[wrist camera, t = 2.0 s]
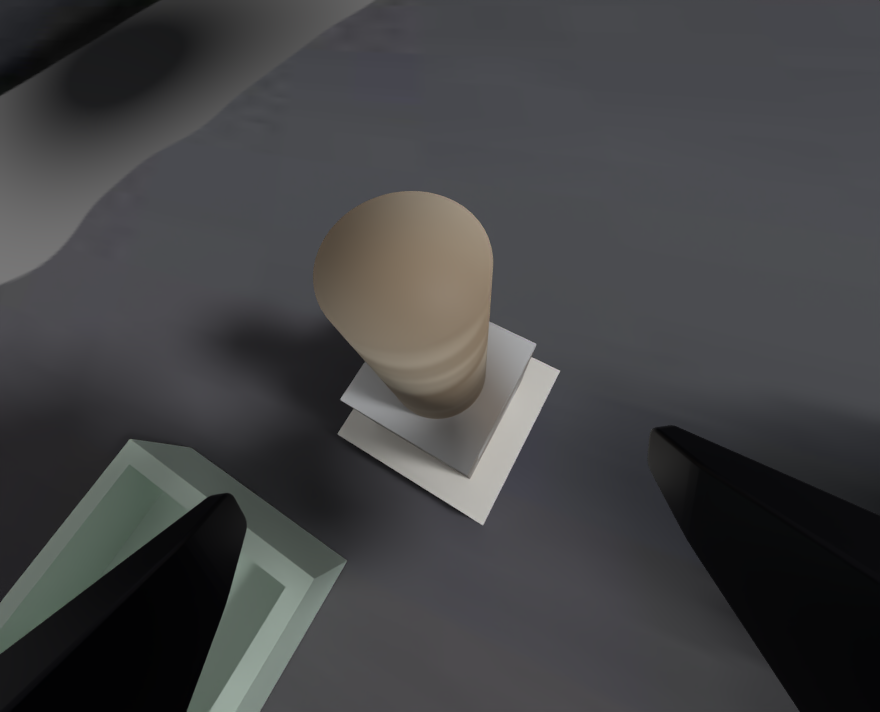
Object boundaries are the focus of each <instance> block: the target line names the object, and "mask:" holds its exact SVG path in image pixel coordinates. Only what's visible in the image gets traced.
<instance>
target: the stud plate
mask: <svg viewBox="0 0 880 712" xmlns="http://www.w3.org/2000/svg"><path fill="white" fill-rule="evenodd" d="M559 372H560V371H559V370H557V369H555V368H553V367H551V366H549V365H547V364H545V363H543V362H541V361H539V360H536V359H534V358H532V357H531V359H530V361H529V364H528V366H527V369H526V371H525V374H524V376H523V379H522V381H521V383H520V385H519V387H518V389H517V391H516V393H515V395H514V396H513V398H512V400H511V402H510V404H509V406H508V408H507V410H506V412H505V414H504V415H503V417H502V419H501V421H500V423H499V425H498V427H497V429H496V431H495V433H494V434H493V436H492V438H491V440H490V442H489V444H488V446H487V448H486V450H485V452H484V453H483V455H482V457H481V459H480V461H479V463H478V465H477V467H476V469H475V471H474V472H473V474H472V476H471V478H470V479H469V478H467V477H466V476H464V475H462V474H461V473H459V472H457V471H455V470H454V469H452V468H450V467H449V466H447V465H445V464H444V463H442V462H440V461H439V460H437V459H435V458H434V457H432V456H430V455H429V454H427V453H425V452H424V451H422V450H420V449H419V448H417V447H415V446H414V445H412V444H410V443H409V442H407V441H405V440H404V439H402V438H400V437H399V436H397V435H395V434H394V433H392V432H390V431H389V430H387V429H385V428H384V427H382V426H380V425H378V424H377V423H375V422H374V421H372V420H371V419H369V418H367V417H366V416H364V415H363V414H361V413H360V412H358V411H357V410H355V409H353V410H352V412H351V413H350V415H349V416H348V418H347V420H346V421H345V423H344V424H343V426H342V427H341V429H340V430H339V432H338V435H339V436H341V437H342V438H344V439H346V440H347V441H349V442H350V443H352V444H354V445H355V446H357V447H358V448H360V449H362V450H363V451H365V452H366V453H368V454H370V455H371V456H373V457H374V458H376V459H378V460H379V461H381V462H382V463H384V464H386V465H387V466H389V467H390V468H392V469H394V470H395V471H397V472H398V473H400V474H402V475H403V476H405V477H406V478H408V479H410V480H411V481H413V482H414V483H416V484H418V485H419V486H421V487H422V488H424V489H426V490H427V491H429V492H430V493H432V494H434V495H435V496H437V497H438V498H440V499H442V500H443V501H445V502H446V503H448V504H450V505H451V506H453V507H454V508H456V509H458V510H459V511H461V512H462V513H464V514H466V515H467V516H469V517H470V518H472V519H474V520H475V521H477V522H478V523H480V524H481V525H483V524H484V522H485V520H486V518H487V516H488V514H489V512H490V510H491V508H492V506H493V504H494V502H495V500H496V498H497V496H498V494H499V492H500V490H501V488H502V486H503V484H504V482H505V480H506V478H507V476H508V474H509V472H510V470H511V468H512V466H513V464H514V462H515V460H516V458H517V456H518V454H519V452H520V450H521V448H522V446H523V444H524V442H525V440H526V438H527V436H528V434H529V432H530V430H531V428H532V426H533V424H534V422H535V420H536V418H537V416H538V414H539V412H540V410H541V408H542V406H543V404H544V402H545V400H546V398H547V396H548V394H549V392H550V390H551V388H552V386H553V384H554V382H555V380H556V378H557V376H558V374H559Z"/></svg>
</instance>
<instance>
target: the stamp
mask: <svg viewBox="0 0 880 712" xmlns="http://www.w3.org/2000/svg"><path fill="white" fill-rule="evenodd" d="M492 271H493V256H492V248H491V245H490V241H489V238H488V236H487V234H486V232H485V230H484V228H483V227H482V225H481V224H480V222H479V221H478V220H477V219H476V218H475V216H474V215H473V214H472V213H471V212H469V211H468V210H467V209H466V208H465V207H463V206H461V205H460V204H458V203H457V202H455V201H453V200H451V199H449V198H446V197H443V196H440V195H437V194H433V193H428V192H419V191H403V192H395V193H390V194H386V195H382V196H379V197H376V198H373V199H371V200H369V201H366V202H364V203H362V204H360V205H359V206H357V207H355V208H354V209H352V210H351V211H350V212H348V213H347V214H345V215H344V216H343V217H342V218H341V219H340V220H339V221H338V222H337V223H336V224H335V225H334V226H333V227H332V229H331V230H330V231H329V232H328V234H327V235H326V237H325V238H324V240H323V242H322V244H321V246H320V248H319V250H318V253H317V256H316V260H315V264H314V272H313V283H314V290H315V294H316V298H317V301H318V303H319V306H320V308H321V309H322V311H323V313H324V314H325V316H326V317H327V318H328V320H329V321H330V322H331V323H332V324H333V325H334V327H335V328H336V329H337V330H338V331H339V332H340V333H341V334H342V336H343V337H344V338H345V339H346V340H347V341H348V342H349V344H350V345H351V346H352V347H353V348H354V349H355V350H356V351H357V353H358V354H359V355H360V356H361V357H362V358H363V359H364V361H365V362H364V364H363V365H362V367H361V368H360V370H359V372H358V373H357V375H356V376H355V378H354V379H353V381H352V382H351V384H350V385H349V387H348V388H347V390H346V391H345V393H344V394H343V396H342V397H341V399H340V400H341V401H343V402H344V403H346V404H347V405H349V406H351V407H352V408H354V409H355V410H357V411H358V412H360V413H361V414H363V415H364V416H366V417H367V418H369V419H371V420H372V421H374V422H375V423H377V424H378V425H380V426H382V427H384V428H385V429H387V430H389V431H390V432H392V433H394V434H395V435H397V436H399V437H400V438H402V439H404V440H405V441H407V442H409V443H410V444H412V445H414V446H415V447H417V448H419V449H420V450H422V451H424V452H425V453H427V454H429V455H430V456H432V457H434V458H435V459H437V460H439V461H440V462H442V463H444V464H445V465H447V466H449V467H450V468H452V469H454V470H455V471H457V472H459V473H461V474H462V475H464V476H466V477H467V478H469V479H470V478H471V476H472V474H473V472H474V471H475V469H476V467H477V465H478V463H479V461H480V459H481V457H482V455H483V453H484V452H485V450H486V448H487V446H488V444H489V442H490V440H491V438H492V436H493V434H494V433H495V431H496V429H497V427H498V425H499V423H500V421H501V419H502V417H503V415H504V414H505V412H506V410H507V408H508V406H509V404H510V402H511V400H512V398H513V396H514V395H515V393H516V391H517V389H518V387H519V385H520V383H521V381H522V379H523V376H524V374H525V371H526V369H527V366H528V364H529V361H530V359H531V356H532V354H533V351H534V349H535V346H536V344H535V343H533V342H531V341H529V340H527V339H525V338H523V337H521V336H518V335H516V334H514V333H512V332H510V331H508V330H506V329H504V328H502V327H499V326H497V325H495V324H493V323H491V322H489V317H490V302H491V286H492Z"/></svg>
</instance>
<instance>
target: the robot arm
mask: <svg viewBox="0 0 880 712" xmlns="http://www.w3.org/2000/svg"><path fill="white" fill-rule="evenodd" d="M648 465H649V468H650V471H651V473H652V474H653V476H654V478H655V480H656V482H657V484H658V486H659V488H660V490H661V492H662V494H663V496H664V497H665V499H666V501H667V503H668V505H669V507H670V509H671V511H672V513H673V515H674V517H675V518H676V520H677V522H678V524H679V526H680V528H681V530H682V532H683V533H684V535H685V537H686V539H687V541H688V542H689V544H690V545H691V547H692V548H693V550H694V552H695V553H696V555H697V556H698V558H699V559H700V561H701V562H702V564H703V565H704V567H705V568H706V570H707V571H708V573H709V574H710V576H711V578H712V579H713V581H714V582H715V584H716V585H717V587H718V588H719V590H720V591H721V593H722V594H723V596H724V597H725V599H726V600H727V602H728V603H729V605H730V606H731V608H732V609H733V611H734V612H735V614H736V616H737V617H738V619H739V620H740V622H741V623H742V625H743V626H744V628H745V629H746V631H747V632H748V634H749V635H750V637H751V638H752V640H753V641H754V643H755V644H756V646H757V647H758V649H759V650H760V652H761V654H762V655H763V657H764V658H765V660H766V661H767V663H768V664H769V666H770V667H771V669H772V670H773V672H774V673H775V675H776V676H777V678H778V679H779V681H780V682H781V684H782V685H783V687H784V688H785V690H786V692H787V693H788V695H789V696H790V698H791V699H792V701H793V702H794V704H795V705H796V707H797V708H798V710H799V711H800V712H880V515H878V514H876V513H873V512H871V511H869V510H867V509H864V508H862V507H860V506H857V505H855V504H853V503H850V502H848V501H846V500H844V499H841V498H839V497H837V496H834V495H832V494H830V493H828V492H825V491H823V490H821V489H818V488H816V487H814V486H812V485H809V484H807V483H805V482H802V481H800V480H798V479H796V478H793V477H791V476H789V475H786V474H784V473H782V472H779V471H777V470H775V469H773V468H770V467H768V466H766V465H763V464H761V463H759V462H757V461H754V460H752V459H750V458H747V457H745V456H743V455H741V454H738V453H736V452H734V451H731V450H729V449H727V448H725V447H722V446H720V445H718V444H715V443H713V442H711V441H708V440H706V439H704V438H702V437H699V436H697V435H695V434H692V433H690V432H688V431H686V430H683V429H681V428H679V427H676V426H673V425H669V426H662V427H656V428H653V429H652V430H651V432H650V437H649V448H648ZM246 530H247V521H246V518H245V516H244V514H243V512H242V510H241V508H240V506H239V505H238V503H237V501H236V499H235V497H234V496H233V495H232V494H230V493H222V494H215V495H211V496H209V497H207V498H206V499H204V500H203V501H202V502H200V503H199V504H198V505H196V506H195V507H194V508H193V509H191V510H190V511H189V512H187V513H186V514H185V515H183V516H182V517H181V518H179V519H178V520H177V521H175V522H174V523H173V524H171V525H170V526H169V527H167V528H166V529H165V530H163V531H162V532H161V533H159V534H158V535H157V536H156V537H154V538H153V539H152V540H150V541H149V542H148V543H146V544H145V545H144V546H142V547H141V548H140V549H138V550H137V551H136V552H134V553H133V554H132V555H130V556H129V557H128V558H126V559H125V560H124V561H122V562H121V563H120V564H119V565H117V566H116V567H115V568H113V569H112V570H111V571H109V572H108V573H107V574H105V575H104V576H103V577H101V578H100V579H99V580H97V581H96V582H95V583H93V584H92V585H91V586H89V587H88V588H87V589H86V590H84V591H83V592H82V593H80V594H79V595H78V596H76V597H75V598H74V599H72V600H71V601H70V602H68V603H67V604H66V605H64V606H63V607H62V608H60V609H59V610H58V611H56V612H55V613H54V614H52V615H51V616H50V617H49V618H47V619H46V620H45V621H43V622H42V623H41V624H39V625H38V626H37V627H35V628H34V629H33V630H31V631H30V632H29V633H27V634H26V635H25V636H23V637H22V638H21V639H19V640H18V641H17V642H15V643H14V644H13V645H12V646H10V647H9V648H8V649H6V650H5V651H4V652H2V653H1V654H0V712H187V710H188V707H189V704H190V702H191V699H192V696H193V693H194V691H195V688H196V685H197V683H198V680H199V677H200V675H201V672H202V669H203V666H204V664H205V661H206V658H207V656H208V653H209V650H210V648H211V645H212V642H213V639H214V637H215V634H216V631H217V629H218V626H219V623H220V620H221V618H222V615H223V612H224V609H225V606H226V603H227V600H228V596H229V593H230V590H231V586H232V582H233V579H234V575H235V571H236V568H237V564H238V560H239V556H240V553H241V549H242V545H243V542H244V538H245V534H246Z"/></svg>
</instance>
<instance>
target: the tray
mask: <svg viewBox="0 0 880 712" xmlns="http://www.w3.org/2000/svg"><path fill="white" fill-rule="evenodd" d="M222 493H230V494H232V495H233V496H234V497H235V499H236V501H237V503H238V505H239V506H240V508H241V510H242V512H243V514H244V516H245V518H246V521H247V530H246V534H245V538H244V542H243V545H242V549H241V553H240V556H239V560H238V564H237V568H236V571H235V575H234V579H233V582H232V586H231V590H230V593H229V596H228V600H227V603H226V606H225V609H224V612H223V615H222V618H221V620H220V623H219V626H218V629H217V631H216V634H215V637H214V639H213V642H212V645H211V648H210V650H209V653H208V656H207V658H206V661H205V664H204V666H203V669H202V672H201V675H200V677H199V680H198V683H197V685H196V688H195V691H194V693H193V696H192V699H191V702H190V704H189V707H188V710H187V712H260V710H261V709H262V707H263V705H264V703H265V702H266V700H267V698H268V697H269V695H270V693H271V691H272V690H273V688H274V686H275V685H276V683H277V681H278V679H279V678H280V676H281V674H282V672H283V671H284V669H285V667H286V666H287V664H288V662H289V660H290V659H291V657H292V655H293V654H294V652H295V650H296V648H297V647H298V645H299V643H300V641H301V640H302V638H303V636H304V635H305V633H306V631H307V629H308V628H309V626H310V624H311V623H312V621H313V619H314V617H315V616H316V614H317V612H318V610H319V609H320V607H321V605H322V604H323V602H324V600H325V598H326V597H327V595H328V593H329V592H330V590H331V588H332V586H333V585H334V583H335V581H336V579H337V578H338V576H339V574H340V573H341V571H342V569H343V567H344V566H345V564H346V562H347V560H346V559H344V558H343V557H342V556H340V555H339V554H337V553H336V552H335V551H333V550H332V549H330V548H329V547H328V546H326V545H325V544H324V543H322V542H321V541H319V540H318V539H317V538H315V537H314V536H313V535H311V534H310V533H308V532H307V531H306V530H304V529H303V528H301V527H300V526H299V525H297V524H296V523H295V522H293V521H292V520H290V519H289V518H288V517H286V516H285V515H284V514H282V513H281V512H279V511H278V510H277V509H275V508H274V507H273V506H271V505H270V504H268V503H267V502H266V501H264V500H263V499H261V498H260V497H259V496H257V495H256V494H255V493H253V492H252V491H250V490H249V489H248V488H246V487H245V486H244V485H242V484H241V483H239V482H238V481H237V480H235V479H234V478H232V477H231V476H230V475H228V474H227V473H226V472H224V471H223V470H221V469H220V468H219V467H217V466H216V465H215V464H213V463H212V462H210V461H209V460H208V459H206V458H205V457H204V456H202V455H201V454H199V453H198V452H197V451H195V450H194V449H192V448H191V447H184V446H177V445H170V444H163V443H156V442H149V441H142V440H135V439H130V440H129V441H128V442H127V443H126V445H125V446H124V447H123V448H122V450H121V451H120V452H119V453H118V455H117V456H116V457H115V458H114V460H113V461H112V462H111V463H110V465H109V466H108V467H107V469H106V470H105V471H104V472H103V474H102V475H101V476H100V477H99V479H98V480H97V481H96V482H95V484H94V485H93V486H92V487H91V489H90V490H89V491H88V492H87V494H86V495H85V496H84V498H83V499H82V500H81V501H80V503H79V504H78V505H77V506H76V508H75V509H74V510H73V511H72V513H71V514H70V515H69V516H68V518H67V519H66V520H65V521H64V523H63V524H62V525H61V527H60V528H59V529H58V530H57V532H56V533H55V534H54V535H53V537H52V538H51V539H50V540H49V542H48V543H47V544H46V545H45V547H44V548H43V549H42V550H41V552H40V553H39V554H38V555H37V557H36V558H35V559H34V561H33V562H32V563H31V564H30V566H29V567H28V568H27V569H26V571H25V572H24V573H23V574H22V576H21V577H20V578H19V579H18V581H17V582H16V583H15V584H14V586H13V587H12V588H11V590H10V591H9V592H8V593H7V595H6V596H5V597H4V598H3V600H2V601H1V602H0V654H1V653H2V652H4V651H5V650H6V649H8V648H9V647H10V646H12V645H13V644H14V643H15V642H17V641H18V640H19V639H21V638H22V637H23V636H25V635H26V634H27V633H29V632H30V631H31V630H33V629H34V628H35V627H37V626H38V625H39V624H41V623H42V622H43V621H45V620H46V619H47V618H49V617H50V616H51V615H52V614H54V613H55V612H56V611H58V610H59V609H60V608H62V607H63V606H64V605H66V604H67V603H68V602H70V601H71V600H72V599H74V598H75V597H76V596H78V595H79V594H80V593H82V592H83V591H84V590H86V589H87V588H88V587H89V586H91V585H92V584H93V583H95V582H96V581H97V580H99V579H100V578H101V577H103V576H104V575H105V574H107V573H108V572H109V571H111V570H112V569H113V568H115V567H116V566H117V565H119V564H120V563H121V562H122V561H124V560H125V559H126V558H128V557H129V556H130V555H132V554H133V553H134V552H136V551H137V550H138V549H140V548H141V547H142V546H144V545H145V544H146V543H148V542H149V541H150V540H152V539H153V538H154V537H156V536H157V535H158V534H159V533H161V532H162V531H163V530H165V529H166V528H167V527H169V526H170V525H171V524H173V523H174V522H175V521H177V520H178V519H179V518H181V517H182V516H183V515H185V514H186V513H187V512H189V511H190V510H191V509H193V508H194V507H195V506H196V505H198V504H199V503H200V502H202V501H203V500H204V499H206V498H207V497H209V496H211V495H215V494H222Z"/></svg>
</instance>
